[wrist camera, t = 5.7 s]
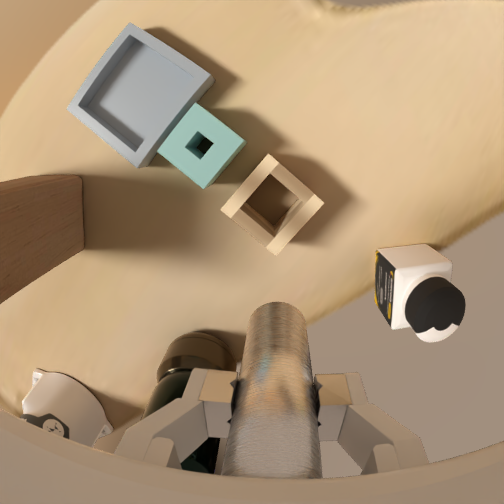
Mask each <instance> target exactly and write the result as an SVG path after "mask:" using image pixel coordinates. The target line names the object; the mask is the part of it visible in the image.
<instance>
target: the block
mask: <svg viewBox="0 0 504 504" xmlns="http://www.w3.org/2000/svg"><path fill="white" fill-rule="evenodd" d="M83 248H84V229H83V203H82V180H81V178H80V177H78V176H76V175H45V176H29V177H24V178H19V179H14V180H9V181H4V182H0V304H1V303H2V302H4V301H5V300H7V299H8V298H9V297H11V296H12V295H14V294H15V293H17V292H18V291H20V290H21V289H22V288H24V287H25V286H27V285H28V284H30V283H31V282H33V281H34V280H36V279H37V278H39V277H41V276H42V275H44V274H45V273H47V272H48V271H50V270H51V269H53V268H54V267H56V266H58V265H59V264H61V263H62V262H64V261H66V260H67V259H69V258H70V257H72V256H74V255H75V254H77V253H79V252H80V251H82V250H83Z"/></svg>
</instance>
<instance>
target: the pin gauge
mask: <svg viewBox="0 0 504 504" xmlns="http://www.w3.org/2000/svg"><path fill="white" fill-rule="evenodd" d="M221 475H223V476H234V477H246V478H264V479H319V478H322V467H321V454H320V443H319V432H318V422H317V413H316V403H315V394H314V385H313V377H312V369H311V360H310V353H309V345H308V338H307V330H306V323H305V319H304V317H303V315H302V313H301V312H300V311H299V310H298V309H297V308H296V307H294V306H292V305H290V304H288V303H284V302H271V303H267V304H264V305H262V306H260V307H259V308H257V309H256V310H255V311H254V312H253V314H252V315H251V317H250V320H249V324H248V329H247V335H246V341H245V346H244V352H243V357H242V363H241V369H240V374H239V379H238V385H237V391H236V396H235V401H234V407H233V413H232V418H231V423H230V428H229V434H228V440H227V444H226V450H225V455H224V460H223V466H222V471H221Z"/></svg>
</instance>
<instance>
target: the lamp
mask: <svg viewBox="0 0 504 504" xmlns="http://www.w3.org/2000/svg"><path fill="white" fill-rule="evenodd" d="M194 368H200V369H208V370H209V369H211V370H221V371H231V372H236V359H235V356H234V354H233V352H232V351H231V349H230V348H229V347H228V345H226V344H225V343H224V342H223V341H222V340H220V339H219V338H217V337H215V336H212V335H210V334H206V333H198V332H194V333H188V334H184V335H182V336H180V337H178V338H176V339H175V340H174V341H173V342H172V343H171V344H170V346H169V347H168V349H167V351H166V354H165V356H164V358H163V360H162V362H161V364H160V366H159V368H158V371H157V383H158V384H157V386H156V387H155V389H154V391H153V393H152V395H151V397H150V400H149V402H148V404H147V406H146V409H145V411H144V413H143V415H142V418H141V420H142V419H144V418H146V417H147V416H149V415H151V414H152V413H154V412H156V411H157V410H159V409H161V408H162V407H164V406H165V405H167V404H169V403H170V402H172V401H173V400H175V399H177V398H182V396H183V393H184V391H185V388H186V386H187V383H188V380H189V378H190V375H191V373H192V370H193V369H194ZM141 420H140V421H141ZM219 443H220V438H217V437H208V439H207V440H205V441H204V442H203V443H202V444H201V445H200V446H199V447H198V448H197V449H196V450H195V451H194V452H192V453H191V454H190V455H189V456H188V457H187V458H186V459H185V460H184V461H182V462H181V463H180V464H181V468H182V470H186V471H192V472H199V473H206V474H214V472H215V467H216V461H217V455H218V449H219Z"/></svg>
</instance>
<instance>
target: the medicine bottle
mask: <svg viewBox="0 0 504 504" xmlns="http://www.w3.org/2000/svg"><path fill="white" fill-rule="evenodd" d="M452 266H453V263H452V262H451V261H450V260H449V259H447V258H446V257H444V256H443V255H442V254H440V253H439V252H437V251H436V250H434V249H433V248H431V247H430V246H428V245H427V244H417V245H409V246H400V247H391V248H383V249H377V250H376V252H375V303H376V305H377V306H378V308H379V309H380V311H381V312H382V314H383V316H384V317H385V319H386V320H387V322H388V324H389V325H390V327H391V328H392V329H393V330H395V329H401V328H406V327H411V328H412V329H413V330H414V332H415V333H416V335H417V336H418V337H419V338H420V339H421V340H423V341H425V342H437V341H440V340H443V339H445V338H447V337H448V336H450V335H451V334H452V333H453V332H454V331H455V330H456V329H457V328H458V326H459V325H460V323H461V321H462V319H463V316H464V313H465V299H464V296H463V294H462V292H461V291H460V290H458V289H457V288H456V287H455V286H454V285H453V284H451V276H452Z"/></svg>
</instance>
